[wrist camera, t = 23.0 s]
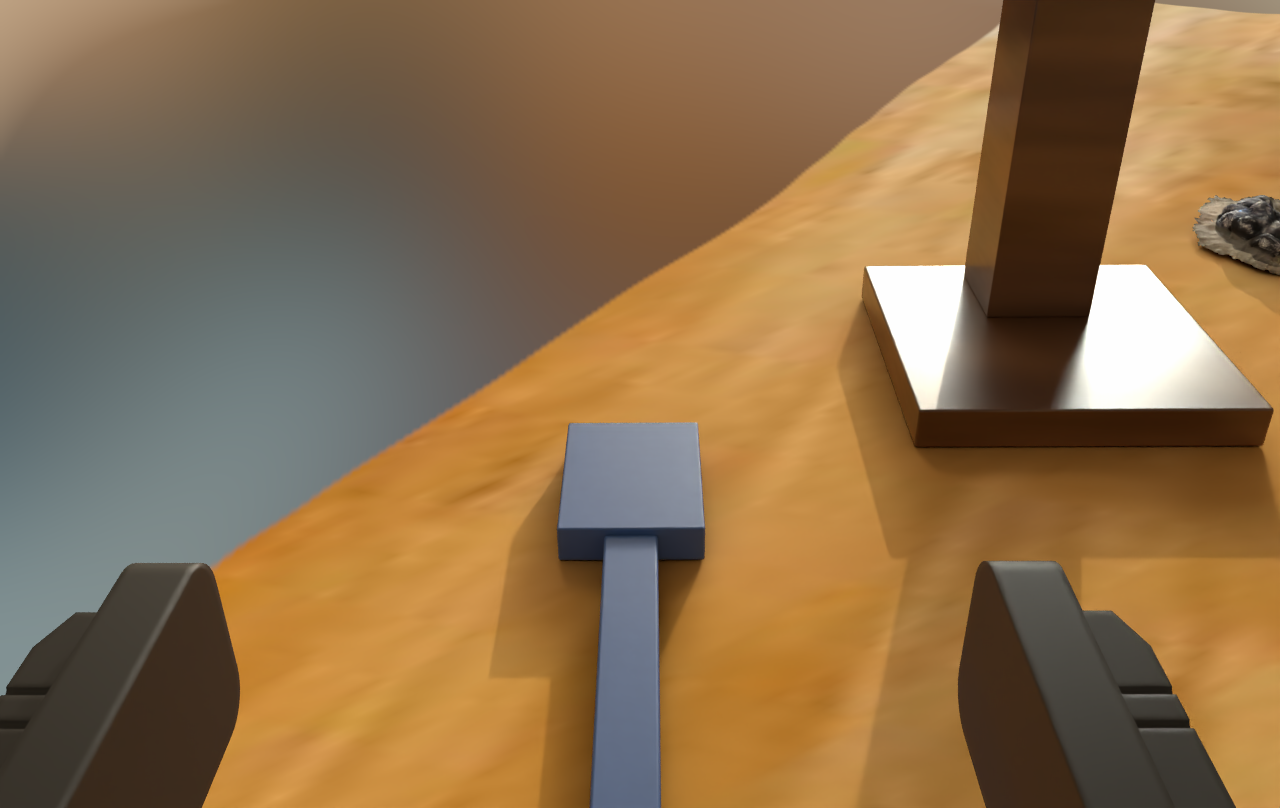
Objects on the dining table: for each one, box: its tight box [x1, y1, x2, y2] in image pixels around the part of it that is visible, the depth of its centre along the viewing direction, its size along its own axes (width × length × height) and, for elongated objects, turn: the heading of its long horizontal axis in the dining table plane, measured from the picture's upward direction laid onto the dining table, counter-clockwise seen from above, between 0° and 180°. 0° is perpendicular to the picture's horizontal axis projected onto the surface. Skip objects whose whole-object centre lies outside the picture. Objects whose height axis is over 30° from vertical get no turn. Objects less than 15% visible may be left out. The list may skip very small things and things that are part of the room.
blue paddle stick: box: [557, 423, 705, 808], centre depth 31 cm, size 22×4×1 cm, turn 0°
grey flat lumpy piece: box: [1193, 195, 1280, 275], centre depth 55 cm, size 7×8×2 cm
